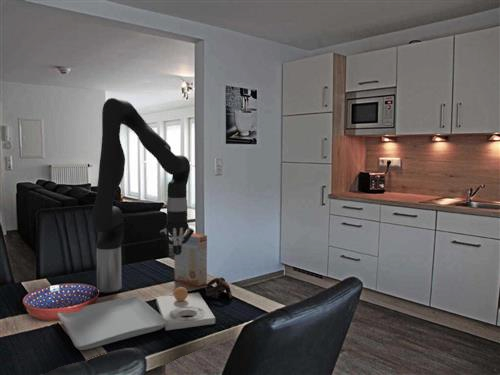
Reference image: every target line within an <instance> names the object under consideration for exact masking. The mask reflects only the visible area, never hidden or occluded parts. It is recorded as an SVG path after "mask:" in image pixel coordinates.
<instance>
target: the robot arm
mask: <svg viewBox="0 0 500 375" xmlns="http://www.w3.org/2000/svg"><path fill="white" fill-rule="evenodd" d="M101 114H102V115H101V119H102V122H101V123H102V124H101V127H102V129H101V130H102V131H101V137H102V138H101V146H100V147H101V148H100V158H99V166H98V178H97V186H96V195H95V200H94V206H93V208H92V209H93V210H92V214H91V223H92V226H93V228H94V229H95V230H96V231H97V232H100V233H101V234H100V236H99V238H98V239H97V241H96V245H95V246H96V290H97V289H98V290H99V292H98V293H115V292H118V291H119V290H121V289H122V283H123V282H122V240H123V238H124V214H123V212H122V210H121V209H120V208H119V207H117V206H114V200H115V196H116V193H117V190H118V189H119V187H120V186H121V183H122V181H123V178H124V174H125V166H126V156H125V153H124V149H123V146H122V145H123V144H122V142H121V138H120V136H121V125H124V126H126V127H127V128H129V129H130V130H131V131H132V132H134V134H135V135H136V136H137V138H138V140H139V141H140V144H141V145H142V147H143V148H145V149H146V151H148V152H149V153H150V154H151V156H153V158H155V159H156V160H157V162H158V164H159V165H160V167H161V168H162V169H163V171H165V172H166V173H167V174H169V175H172V176H171V177H172V178H171V181H169V182H168V184H167V200H166V224H165V226H164V227H165V228H163V229H160V231H159V233H160V235H161V236H162V238H164V240H165V241H166V242H167V243H168V245H172V253H173V254H174V256H175V255H180V253H181V252H182V244H184V243H186V242H187V241H188V240H189V238H190V237H191V235H192V234H193V233H195V230H194V229H193V228H190V227H189V223H188V208H189V207H188V196H187V193H188V190H187V189H188V188H187V187H188V186H187V185H188V182H189V176H190V171H191V164H190V160H189V159H188V158H187V157H186V156H185V155H181V154H180V155H176V154H174V152H172V147H171V145H170V144H169V143H168V142H167V141H166V140H165V139H163V138H162V137H161V135H159V134H158V133H157V132H156V131H155V130H154V129H153V128H152V127H151V126H150V125H149V124H148V123H147V122H146V120H145V119H144V118H143V117H142V116H141V114H140V113H139V112H138V110H137V109H136V108H135V107H134V105H132V103H131V102H129V101H127V100H124V99H121V98H115V97H111V98H108V99H107V100H105V102H104V104H103V106H102V111H101ZM185 232H187V234H186V235H185V237H184V238H183V240H182V236H183V235H184V233H185ZM167 234H169V235H170V236H171V239H170V238H169V237H168V235H167ZM176 236H178V242H177V241H176V239H177V237H176ZM177 243H178V244H177Z"/></svg>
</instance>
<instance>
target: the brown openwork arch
mask: <svg viewBox="0 0 500 375" xmlns="http://www.w3.org/2000/svg"><path fill="white" fill-rule="evenodd" d="M214 284H216V285H215V286H213V285H214ZM211 286H213V287H211ZM210 287H211V288H210ZM204 290H205V296H206V297H210V296H214V295H215V296H218V291H219V292H225V294H226V295H228V298H229V299H232V295H233V294H232V290H231V288H230V285H229V284H228V283H227V282H226V279H225V278H224V277H216V278H213V279H212V280H210V281H208V282H207V283H206V285H205V288H204Z"/></svg>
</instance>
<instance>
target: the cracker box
mask: <svg viewBox="0 0 500 375" xmlns="http://www.w3.org/2000/svg"><path fill="white" fill-rule="evenodd" d="M186 234H187V231H186V232H185V233H184V235H183V236H182V240H183V238H184V237H185V235H186ZM176 237H177V239H176V241H177V242H178V236H176ZM177 244H178V243H177ZM207 258H208V235H206V234H201V233H195V232H194V233H193V234H192V235H191V237H190V238H189V240H188V241H187V242H186V243H184V244H182V252H181V253H180V255H175V254H174V261H173V262H174V267H173V269H174V270H173V271H174V276H173V277H174V281H177V282H180V283H185V284H188V285H192V286H194V287H199V286H200V287H201V286H202V285H205V284H206V285H207V284H208V282H207V279H208V278H207V277H208V276H207V273H208V272H207V271H208V270H207V269H208V266H207V265H208V259H207Z"/></svg>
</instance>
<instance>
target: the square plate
mask: <svg viewBox="0 0 500 375" xmlns="http://www.w3.org/2000/svg"><path fill="white" fill-rule="evenodd" d="M82 307H83V306H82ZM60 312H61V311H59V313H58V312H56V316H57V317H58V319H59V320H60V321H61V323H62V324H63V325H64V327H65V329H66V331H67V333H68V335H69V336H70V340H71V341H72V343H73V345H74V347H75V348H76V349H78V350H79V351H87V350H90V349H93V348H98V347H101V346H104V345H109V344H111V343H116V342H119V341H123V340H127V339H131V338H133V337H138V336H141V335H145V334H149V333H153V332H156V331H159V330H162V329H163V328H165V327H164V326H165V325H167V324H168V321H167V320H165V319H164V318H163V317H162V316H161V315H160V312H158V311H157V310H155V309H154V308H153V307H152V306H150V305H149V304H148V303H147V302H146V301H144V300H143V299H142V298H141V297H140V296H138V295H134V296H129V297H123V298H118V299H117V298H116V299H112V300H107V301H102V302H97V303H93V304H92V303H91V304H88V305H85V307H83V309H82V310H80V311H78V312H71V313H60Z"/></svg>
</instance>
